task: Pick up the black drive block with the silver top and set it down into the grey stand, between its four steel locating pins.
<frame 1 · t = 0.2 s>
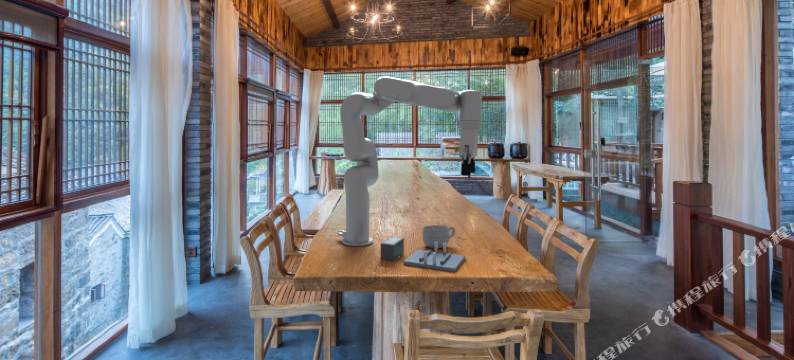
hand: (468, 173, 148), 31 cm above the table, tool pointing down, fingers open, 9 cm apart
teacup: (439, 246, 165), on the table
grey stand: (435, 261, 146), on the table
drive: (392, 256, 151), on the table
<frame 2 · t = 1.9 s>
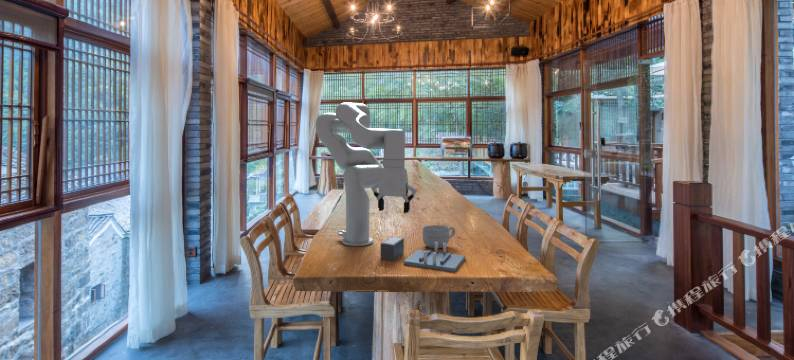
hand: (393, 211, 148), 17 cm above the table, tool pointing down, fingers open, 9 cm apart
nothing on the table moved.
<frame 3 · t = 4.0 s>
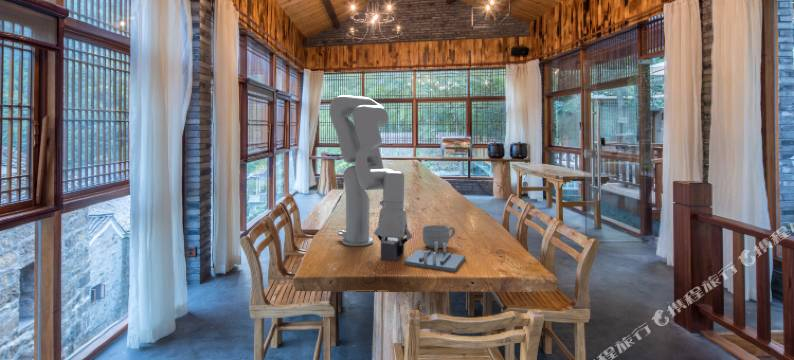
hand: (392, 253, 150), 1 cm above the table, tool pointing down, fingers closed on drive, 5 cm apart
drive: (392, 256, 150), on the table, touching gripper
everything else where it was.
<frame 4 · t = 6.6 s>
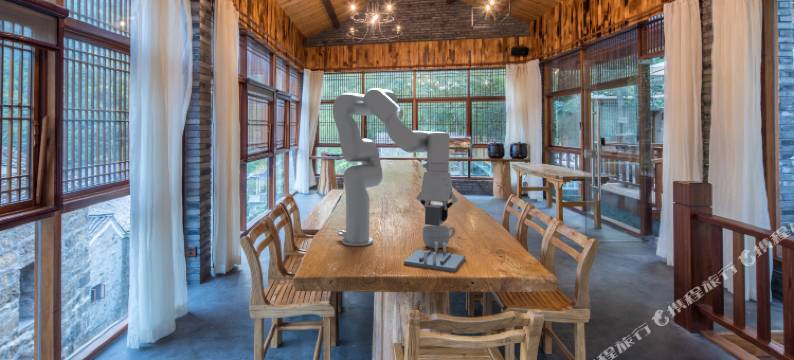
hand: (436, 219, 144), 15 cm above the table, tool pointing down, fingers closed on drive, 5 cm apart
drive: (436, 221, 144), point 14 cm above the table, touching gripper
everything else where it was.
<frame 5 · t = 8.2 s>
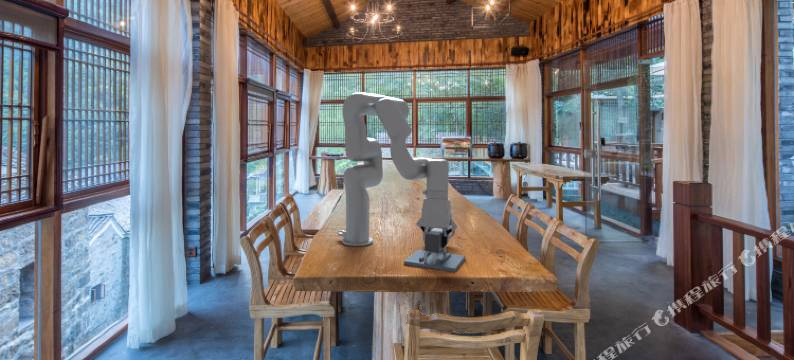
hand: (436, 245, 145), 6 cm above the table, tool pointing down, fingers closed on drive, 5 cm apart
drive: (435, 248, 145), point 5 cm above the table, touching gripper
everything else where it was.
when the fingers open (4 cm above the table, at t = 9.5 s): drive drops 1 cm, resting on grey stand.
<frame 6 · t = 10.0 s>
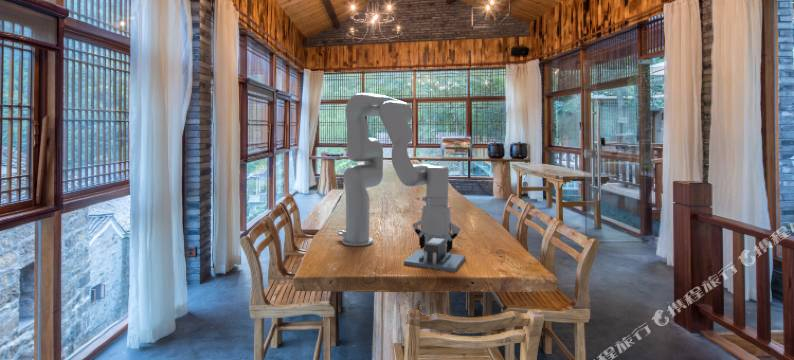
hand: (435, 249, 145), 4 cm above the table, tool pointing down, fingers open, 9 cm apart
drive: (434, 258, 145), point 1 cm above the table, touching grey stand
everything else where it was.
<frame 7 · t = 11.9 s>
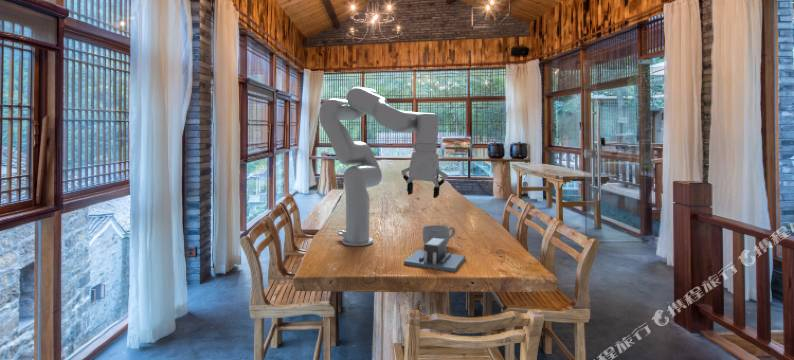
hand: (422, 195, 148), 23 cm above the table, tool pointing down, fingers open, 9 cm apart
nothing on the table moved.
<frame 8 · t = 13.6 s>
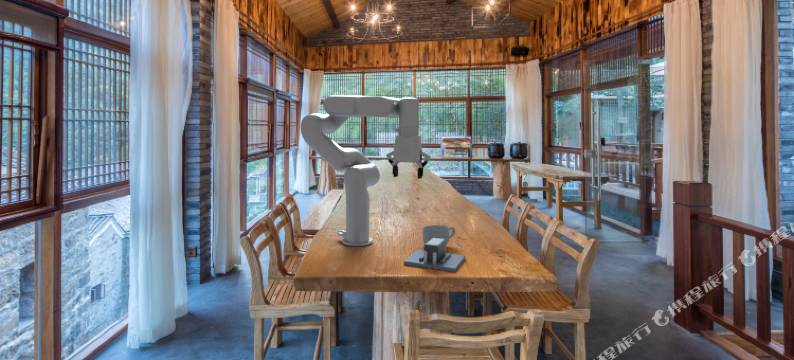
hand: (407, 177, 155), 28 cm above the table, tool pointing down, fingers open, 9 cm apart
nothing on the table moved.
at the end: drive 0.1 cm off-centre on the grey stand, point 1.2 cm above the grey stand's base; drive tilted 0°; the gripper is holding nothing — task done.
